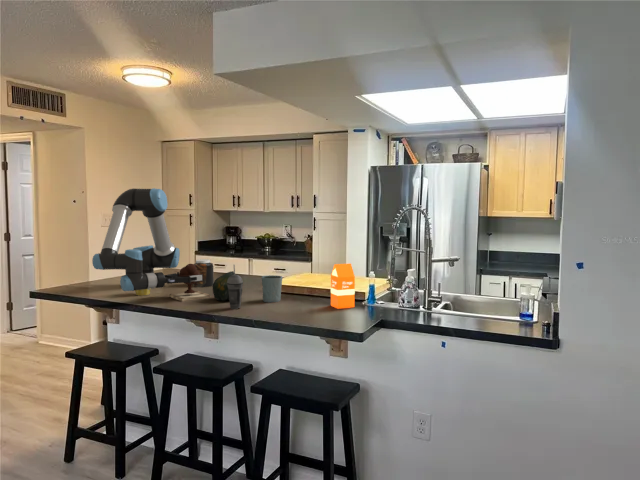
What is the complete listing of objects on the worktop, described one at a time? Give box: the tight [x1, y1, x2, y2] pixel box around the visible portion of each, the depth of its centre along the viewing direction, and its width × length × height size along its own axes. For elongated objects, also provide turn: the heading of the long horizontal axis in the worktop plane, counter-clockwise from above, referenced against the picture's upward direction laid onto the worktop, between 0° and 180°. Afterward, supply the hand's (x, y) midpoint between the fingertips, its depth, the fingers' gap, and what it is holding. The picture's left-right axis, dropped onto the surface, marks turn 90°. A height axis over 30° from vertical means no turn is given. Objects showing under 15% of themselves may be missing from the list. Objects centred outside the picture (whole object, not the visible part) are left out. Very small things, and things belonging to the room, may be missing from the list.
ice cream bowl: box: [178, 263, 201, 294], centre depth 247 cm, size 11×11×15 cm
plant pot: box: [135, 288, 151, 297], centre depth 255 cm, size 10×10×10 cm
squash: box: [212, 270, 243, 302], centre depth 242 cm, size 14×15×15 cm
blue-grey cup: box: [261, 274, 283, 303], centre depth 240 cm, size 10×10×12 cm
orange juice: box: [330, 262, 356, 310], centre depth 226 cm, size 8×9×20 cm
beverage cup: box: [227, 264, 244, 310], centre depth 222 cm, size 7×7×20 cm
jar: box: [192, 258, 215, 288], centre depth 284 cm, size 12×12×15 cm
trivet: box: [169, 290, 211, 302], centre depth 248 cm, size 15×15×2 cm
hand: (196, 276), depth 250 cm, fingers closed on ice cream bowl, 11 cm apart
